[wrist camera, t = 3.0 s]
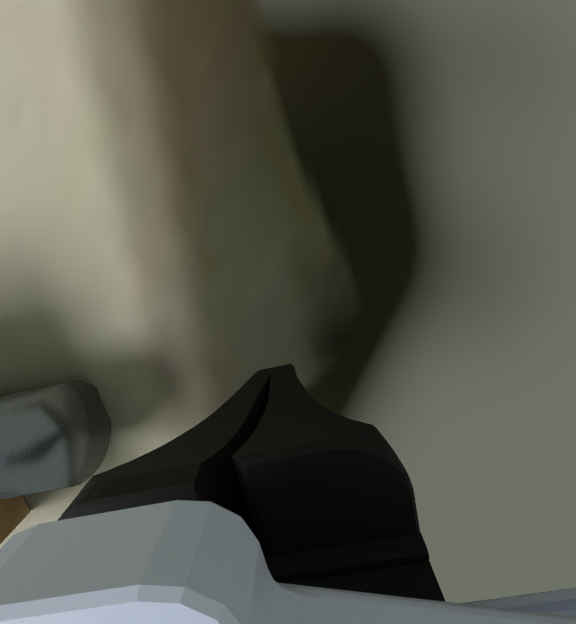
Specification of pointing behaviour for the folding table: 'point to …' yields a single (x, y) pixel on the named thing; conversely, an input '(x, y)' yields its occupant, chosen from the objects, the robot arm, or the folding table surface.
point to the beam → (11, 514)
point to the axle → (51, 438)
